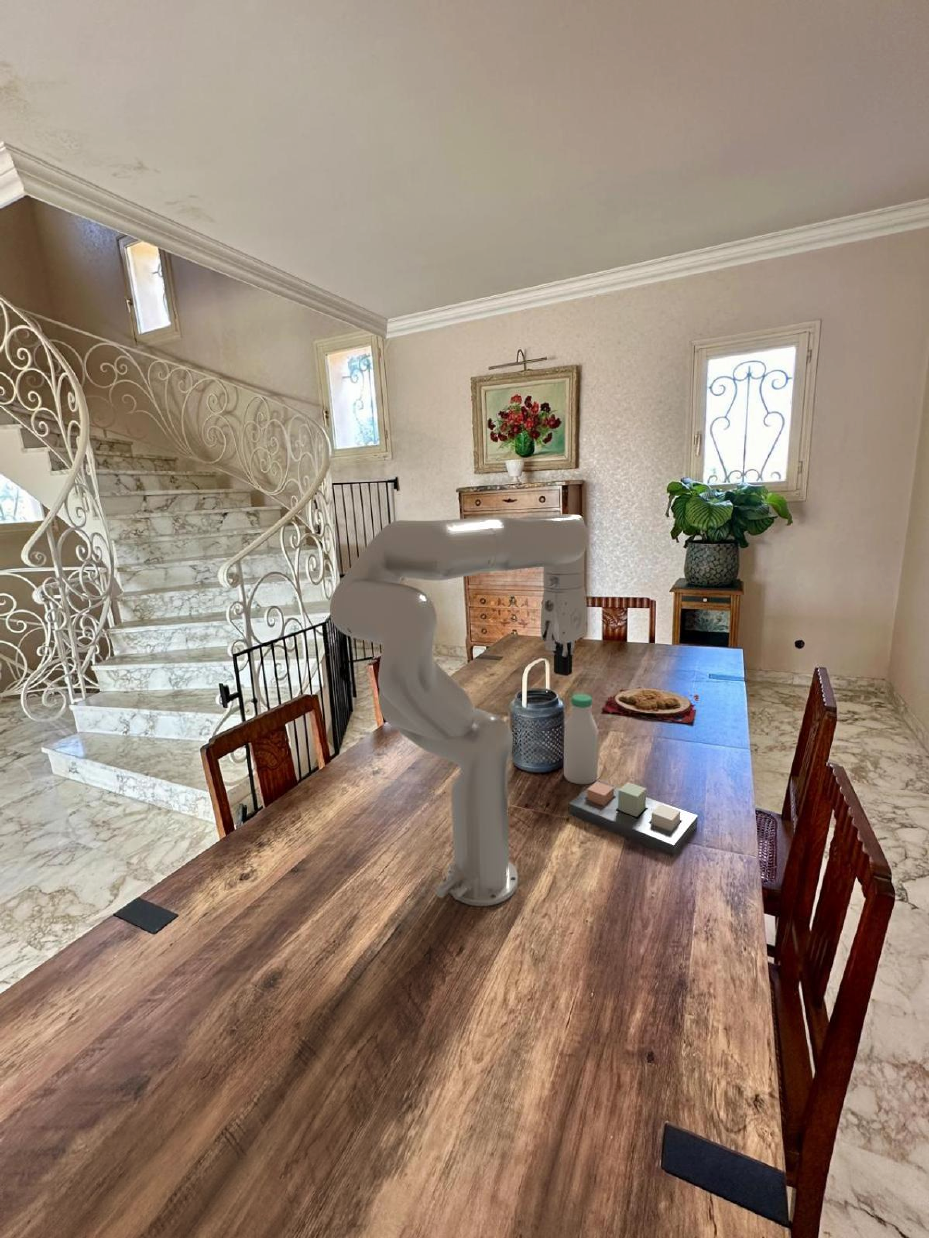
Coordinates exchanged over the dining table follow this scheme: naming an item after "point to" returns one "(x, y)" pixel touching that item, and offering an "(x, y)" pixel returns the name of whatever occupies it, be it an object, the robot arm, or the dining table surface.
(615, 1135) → the dining table surface
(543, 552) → the robot arm
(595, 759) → the milk bottle
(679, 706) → the plate with food
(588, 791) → the terracotta key
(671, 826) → the ivory key
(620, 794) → the sage key
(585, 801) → the panel
